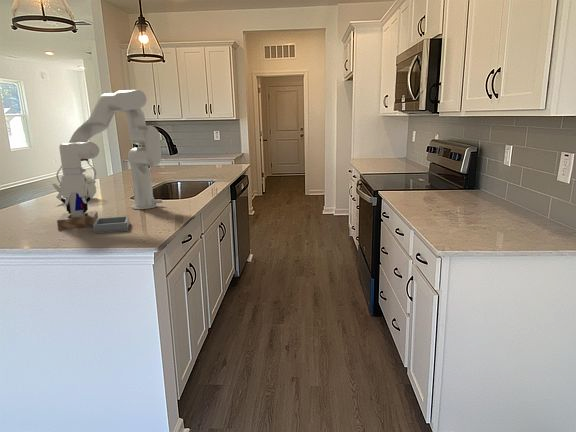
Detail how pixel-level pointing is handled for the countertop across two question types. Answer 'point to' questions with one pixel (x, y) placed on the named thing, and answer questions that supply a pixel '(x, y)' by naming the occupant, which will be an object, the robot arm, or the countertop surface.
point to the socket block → (77, 220)
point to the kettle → (88, 178)
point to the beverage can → (76, 205)
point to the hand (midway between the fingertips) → (77, 212)
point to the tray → (111, 224)
